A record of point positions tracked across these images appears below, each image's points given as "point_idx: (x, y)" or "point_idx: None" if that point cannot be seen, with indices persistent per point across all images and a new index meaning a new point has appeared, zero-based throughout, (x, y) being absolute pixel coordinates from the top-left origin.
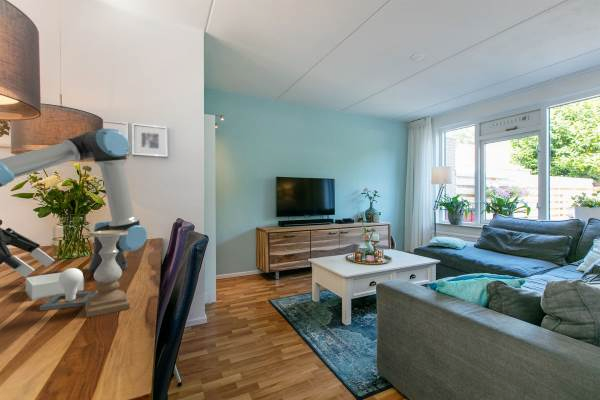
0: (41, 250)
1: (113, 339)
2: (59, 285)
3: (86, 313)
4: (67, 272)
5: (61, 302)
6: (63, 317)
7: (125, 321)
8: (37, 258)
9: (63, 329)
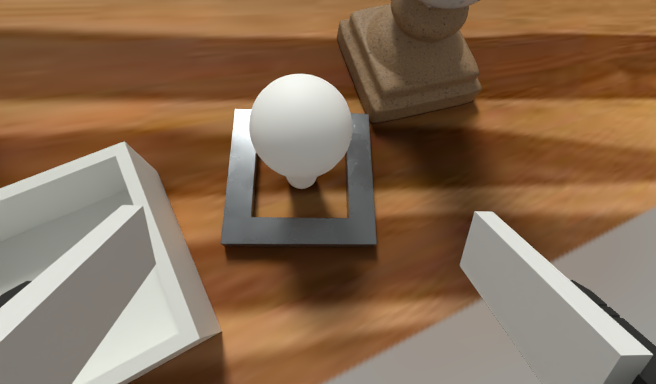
0: (4, 307)
1: (602, 34)
2: (169, 235)
3: (476, 94)
4: (340, 113)
5: (348, 187)
6: (456, 156)
7: (514, 23)
8: (95, 334)
9: (541, 132)
